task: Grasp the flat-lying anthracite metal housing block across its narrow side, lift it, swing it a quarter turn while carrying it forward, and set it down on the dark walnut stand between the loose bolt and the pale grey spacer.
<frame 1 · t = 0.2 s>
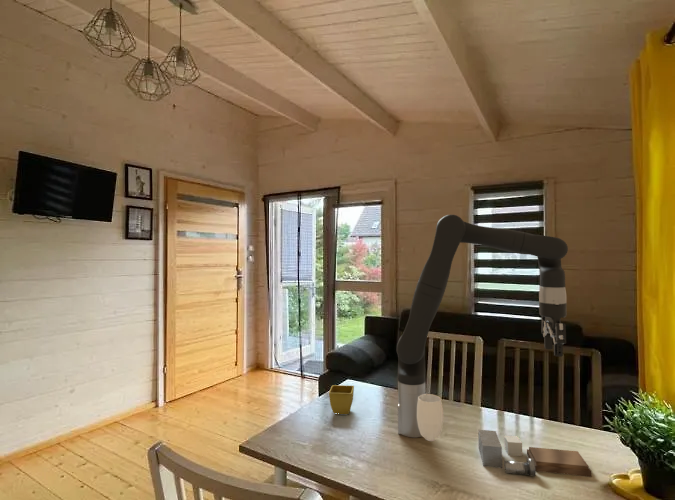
hand: (553, 352, 122), 29 cm above the table, fingers open, 8 cm apart
bolt: (517, 473, 107), on the table
cup: (431, 473, 108), on the table
housing: (489, 458, 115), on the table
spacer: (513, 452, 118), on the table
flower pot: (342, 412, 149), on the table
stand: (557, 464, 110), on the table
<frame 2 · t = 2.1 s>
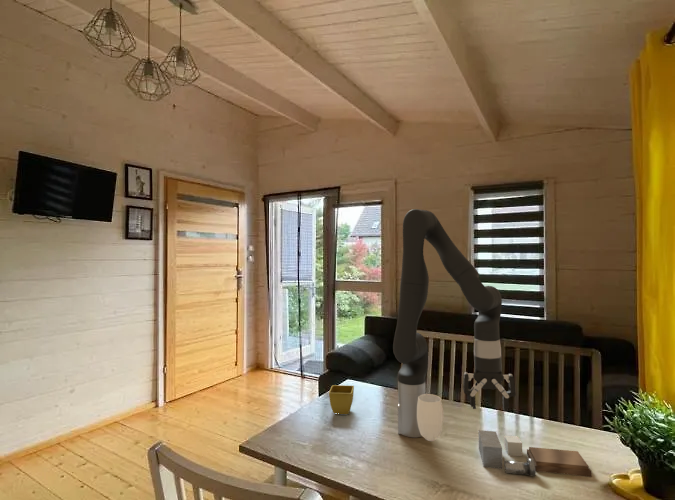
hand: (489, 409, 115), 14 cm above the table, fingers open, 8 cm apart
nothing on the table moved.
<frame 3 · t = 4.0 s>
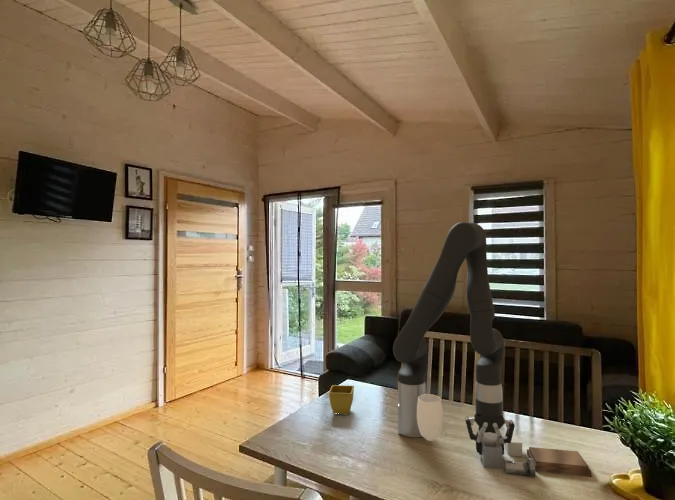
hand: (490, 454, 115), 1 cm above the table, fingers closed on housing, 5 cm apart
housing: (490, 459, 114), on the table, touching gripper
everything else where it was.
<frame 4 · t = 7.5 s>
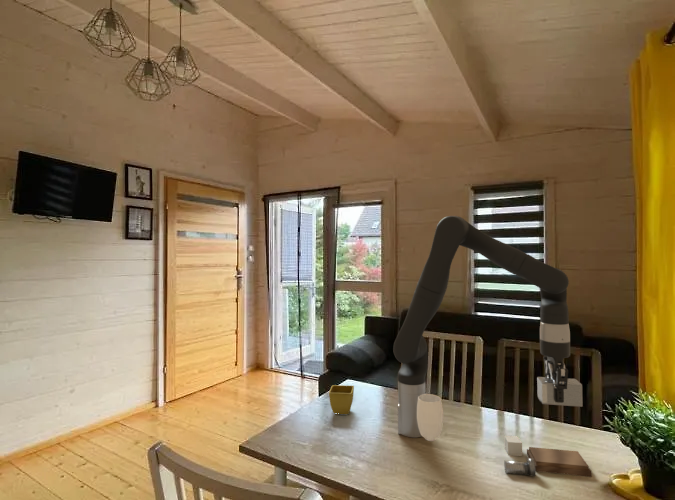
hand: (555, 398, 110), 19 cm above the table, fingers closed on housing, 5 cm apart
housing: (559, 401, 110), point 18 cm above the table, touching gripper
everything else where it was.
when the fingers open (5 cm above the table, at t = 10.9 s): housing drops 1 cm, resting on stand.
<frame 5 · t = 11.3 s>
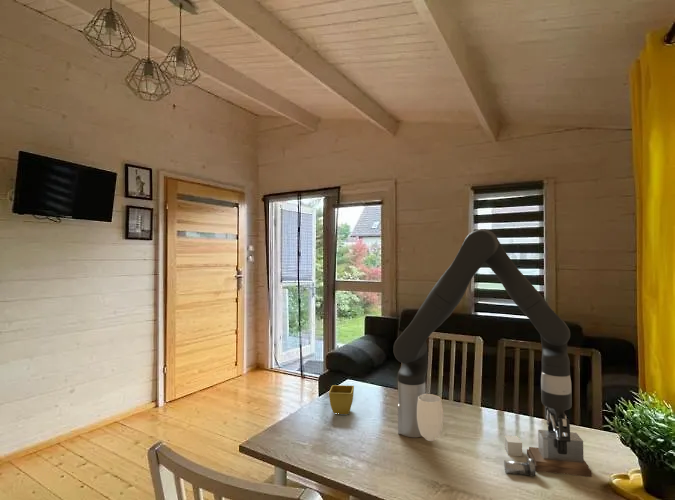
hand: (557, 445, 110), 5 cm above the table, fingers open, 8 cm apart
housing: (560, 456, 110), point 2 cm above the table, touching stand
everything else where it was.
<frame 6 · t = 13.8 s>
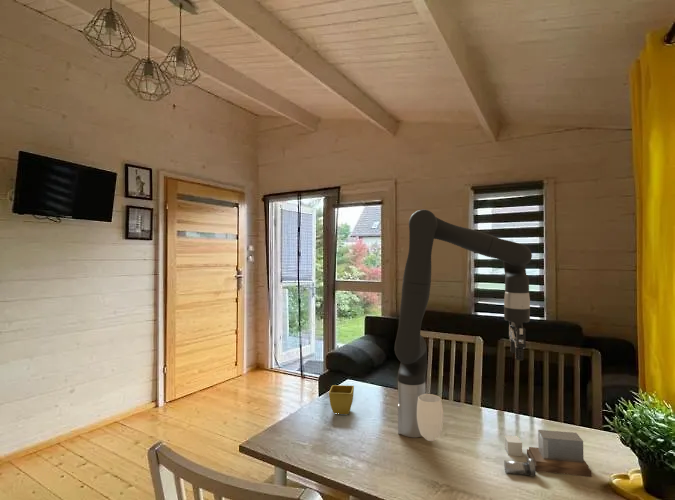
hand: (516, 356, 125), 27 cm above the table, fingers open, 8 cm apart
nothing on the table moved.
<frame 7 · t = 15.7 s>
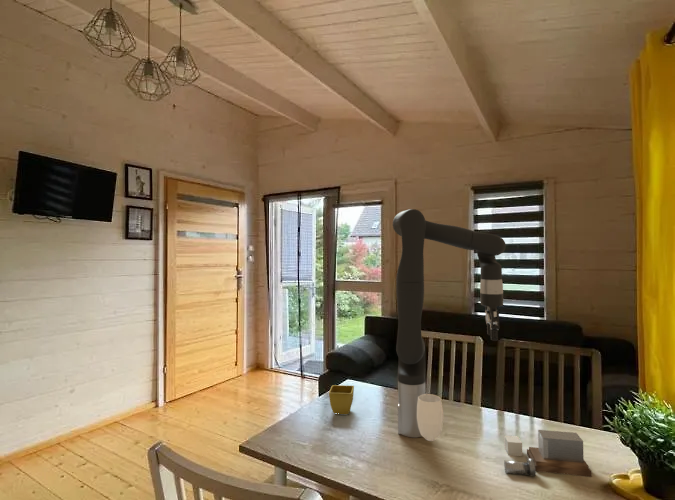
hand: (492, 337, 138), 30 cm above the table, fingers open, 8 cm apart
nothing on the table moved.
at the end: housing 0.8 cm from the stand (horizontally); housing point 2.5 cm above the table; housing tilted 0° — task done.
